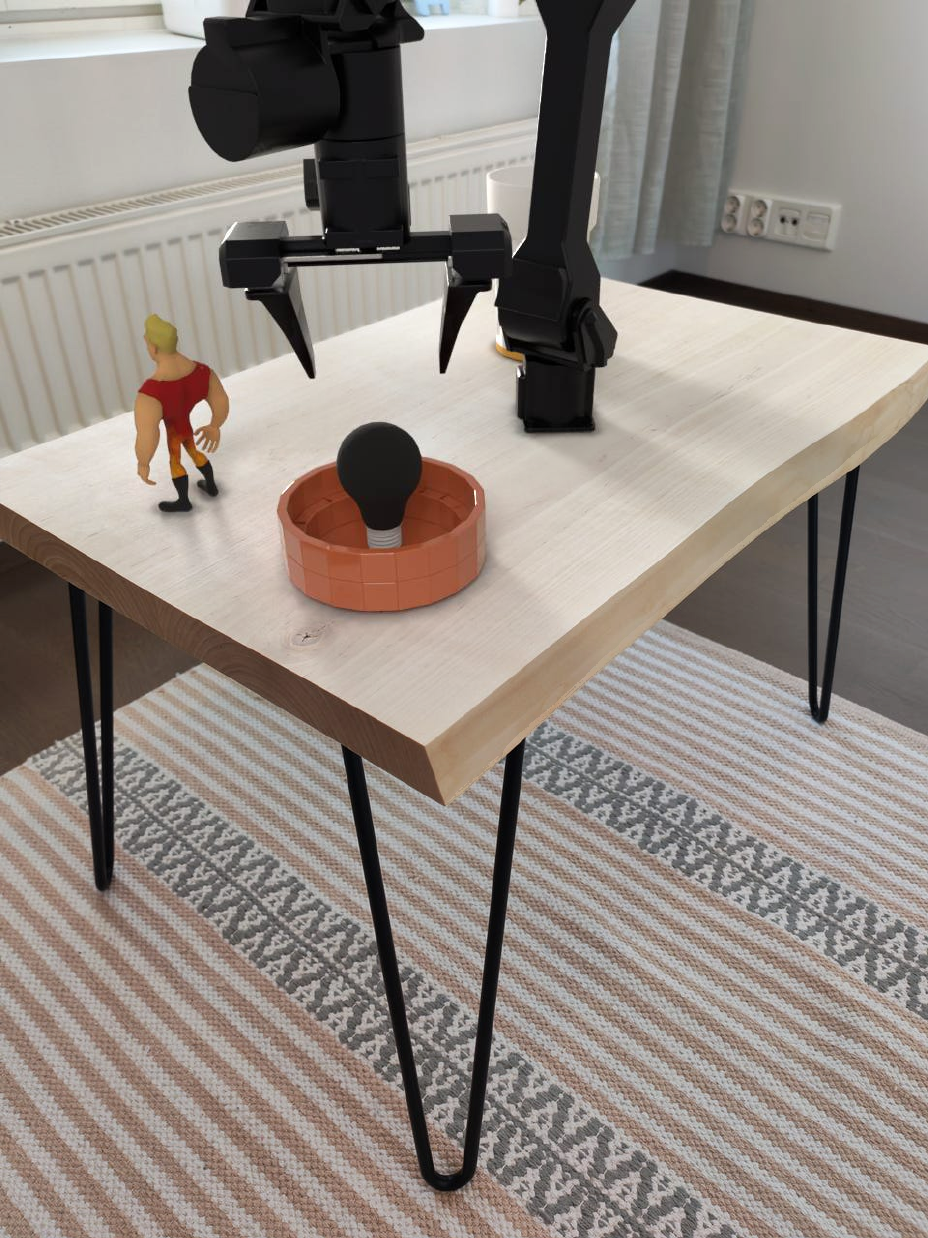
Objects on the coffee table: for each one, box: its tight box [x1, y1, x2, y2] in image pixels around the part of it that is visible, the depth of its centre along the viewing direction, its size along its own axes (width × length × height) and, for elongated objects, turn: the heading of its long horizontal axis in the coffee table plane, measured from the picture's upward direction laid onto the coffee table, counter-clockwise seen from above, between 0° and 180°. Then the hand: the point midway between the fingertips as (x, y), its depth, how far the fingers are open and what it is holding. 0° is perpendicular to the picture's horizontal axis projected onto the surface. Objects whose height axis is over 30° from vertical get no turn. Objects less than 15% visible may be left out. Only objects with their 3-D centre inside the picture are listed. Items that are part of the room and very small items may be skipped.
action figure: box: [133, 313, 230, 513], centre depth 75 cm, size 10×4×15 cm, turn 149°
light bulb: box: [335, 421, 423, 549], centre depth 68 cm, size 6×6×10 cm
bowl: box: [276, 456, 487, 612], centre depth 70 cm, size 14×14×5 cm
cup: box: [486, 163, 602, 362], centre depth 101 cm, size 11×11×17 cm
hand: (377, 374), depth 70 cm, fingers open, 9 cm apart
